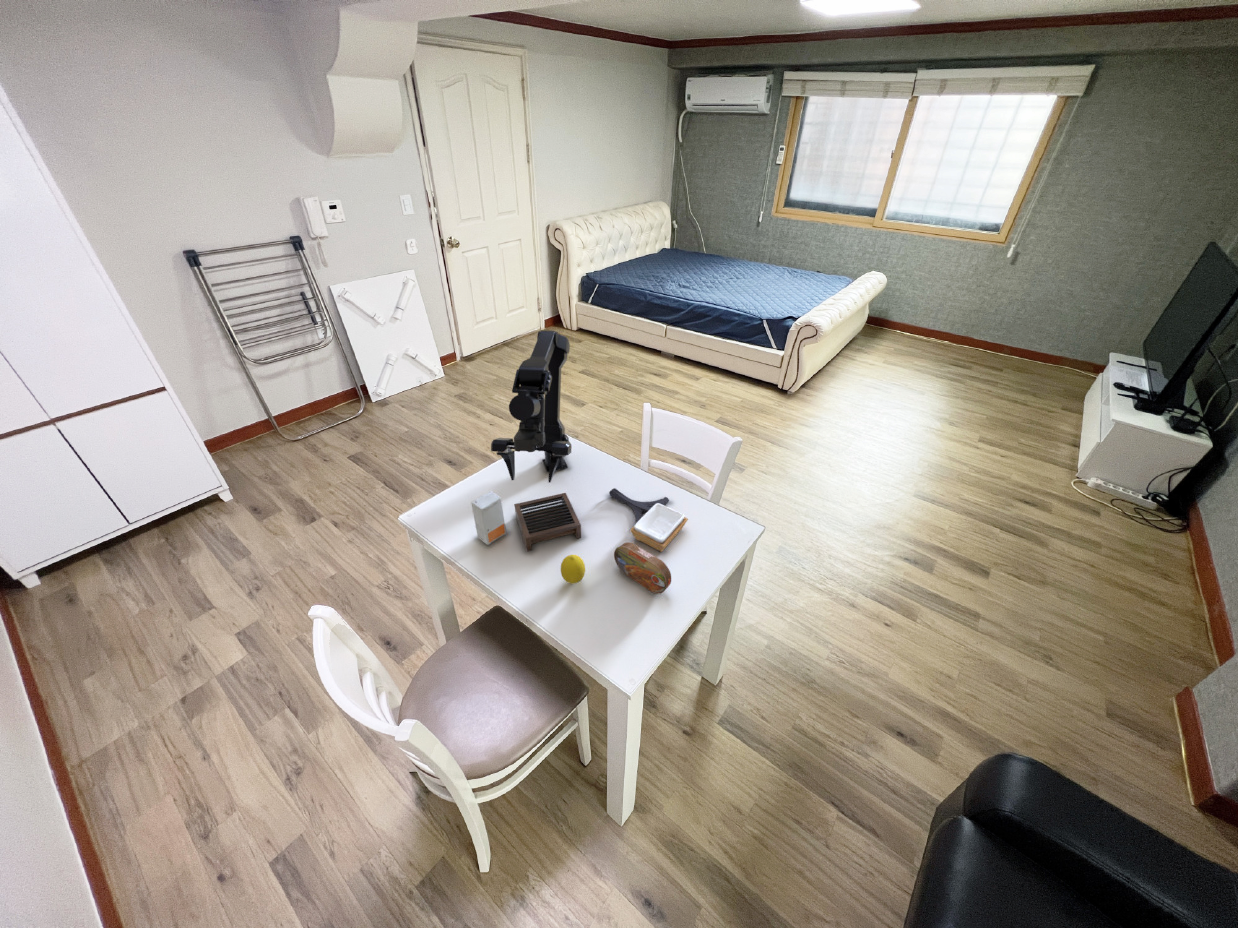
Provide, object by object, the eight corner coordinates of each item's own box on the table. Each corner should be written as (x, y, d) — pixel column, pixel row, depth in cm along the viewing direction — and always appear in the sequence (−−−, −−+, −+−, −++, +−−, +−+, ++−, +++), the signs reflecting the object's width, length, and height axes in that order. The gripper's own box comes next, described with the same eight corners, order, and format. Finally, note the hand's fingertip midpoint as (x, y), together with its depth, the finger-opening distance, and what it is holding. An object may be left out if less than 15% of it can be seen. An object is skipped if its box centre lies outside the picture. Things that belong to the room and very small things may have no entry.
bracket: (625, 482, 143) (625, 475, 142) (668, 502, 136) (669, 495, 134) (594, 508, 134) (594, 501, 132) (639, 531, 127) (640, 523, 125)
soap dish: (655, 514, 132) (656, 499, 129) (687, 528, 128) (689, 514, 125) (629, 540, 124) (630, 525, 121) (662, 557, 119) (664, 542, 116)
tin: (613, 566, 117) (613, 541, 112) (621, 559, 119) (622, 534, 114) (663, 600, 109) (666, 575, 104) (672, 592, 111) (675, 566, 106)
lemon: (573, 568, 116) (571, 544, 111) (590, 580, 113) (589, 555, 109) (556, 582, 113) (554, 558, 108) (574, 594, 110) (572, 570, 105)
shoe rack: (515, 516, 130) (514, 504, 128) (566, 505, 135) (565, 492, 132) (527, 551, 120) (525, 538, 118) (581, 537, 125) (580, 524, 122)
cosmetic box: (488, 546, 122) (480, 509, 115) (477, 538, 124) (469, 502, 117) (507, 533, 125) (501, 497, 118) (497, 525, 128) (490, 490, 121)
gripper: (483, 418, 111) (483, 485, 113) (564, 422, 110) (562, 490, 112) (498, 415, 122) (498, 476, 124) (572, 419, 120) (570, 481, 123)
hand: (531, 481), depth 120 cm, fingers open, 9 cm apart
